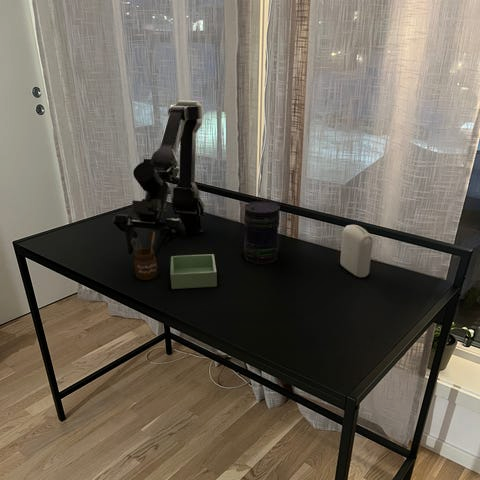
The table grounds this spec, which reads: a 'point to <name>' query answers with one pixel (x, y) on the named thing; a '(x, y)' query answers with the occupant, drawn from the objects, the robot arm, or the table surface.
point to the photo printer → (356, 250)
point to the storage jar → (261, 231)
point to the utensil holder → (145, 262)
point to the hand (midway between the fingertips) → (142, 255)
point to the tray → (193, 271)
